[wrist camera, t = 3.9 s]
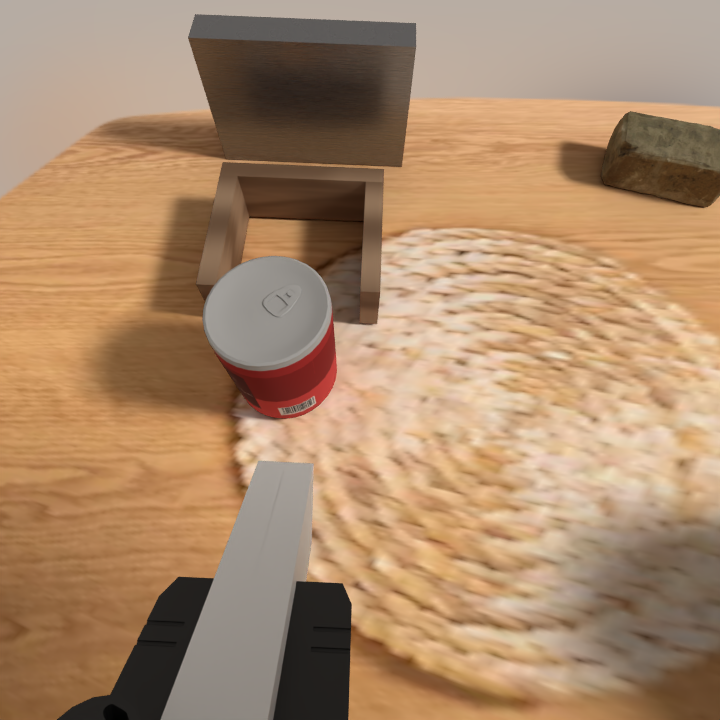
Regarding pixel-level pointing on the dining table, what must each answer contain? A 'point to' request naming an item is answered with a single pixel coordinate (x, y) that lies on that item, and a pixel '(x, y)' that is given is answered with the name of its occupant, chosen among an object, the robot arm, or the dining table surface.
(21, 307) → the dining table surface
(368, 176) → the walnut bracket
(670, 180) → the stone block
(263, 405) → the canned food
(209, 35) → the backstop wall
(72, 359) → the dining table surface
